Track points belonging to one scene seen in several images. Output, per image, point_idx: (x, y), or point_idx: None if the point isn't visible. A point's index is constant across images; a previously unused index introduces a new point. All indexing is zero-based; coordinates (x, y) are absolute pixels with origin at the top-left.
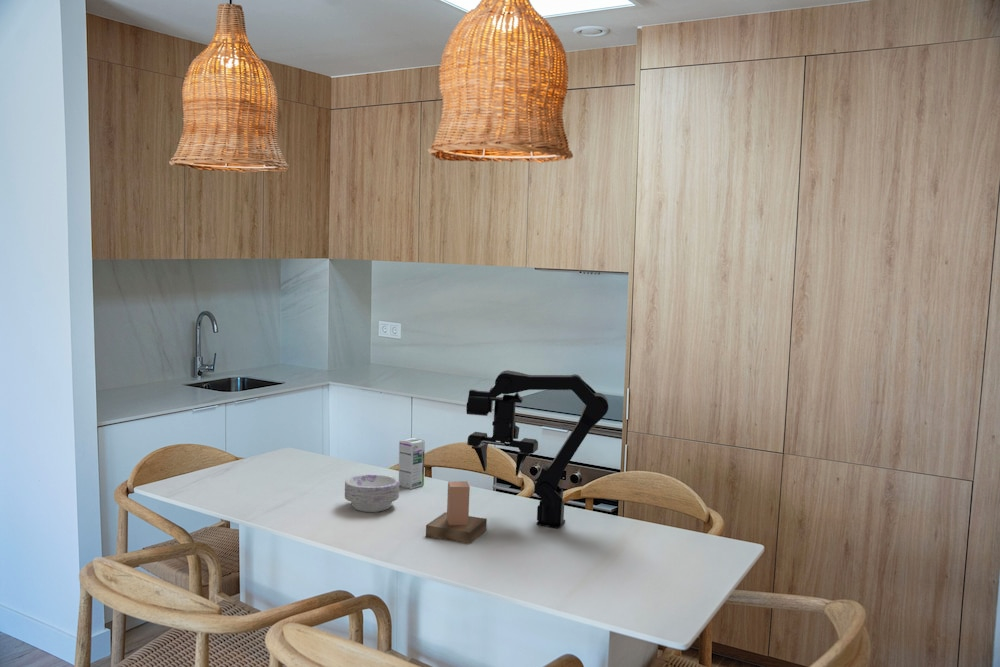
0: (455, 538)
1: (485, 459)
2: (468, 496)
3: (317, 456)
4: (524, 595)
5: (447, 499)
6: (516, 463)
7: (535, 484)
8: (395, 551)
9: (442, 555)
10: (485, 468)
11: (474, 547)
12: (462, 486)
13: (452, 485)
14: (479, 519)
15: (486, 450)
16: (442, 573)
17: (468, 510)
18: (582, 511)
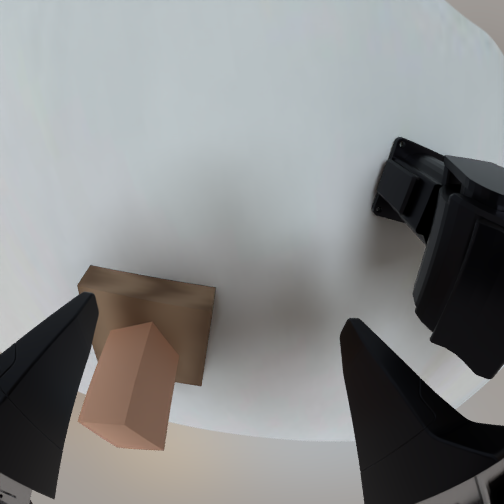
0: None
1: (58, 375)
2: (166, 424)
3: None
4: (313, 439)
5: (94, 375)
6: (355, 439)
7: (426, 326)
8: None
9: (179, 399)
10: (91, 324)
11: (220, 374)
12: (143, 448)
13: (113, 442)
14: (193, 320)
15: (2, 410)
16: (206, 428)
17: (173, 388)
18: (494, 56)
